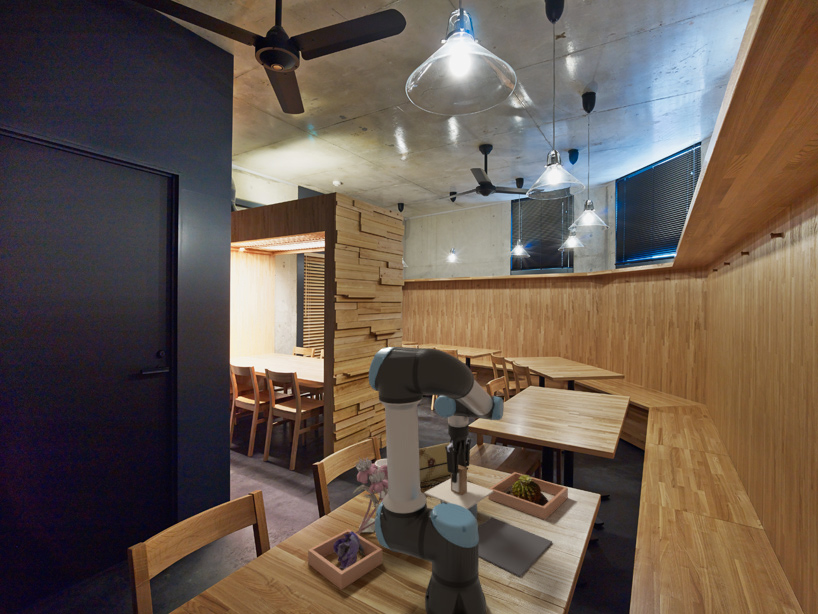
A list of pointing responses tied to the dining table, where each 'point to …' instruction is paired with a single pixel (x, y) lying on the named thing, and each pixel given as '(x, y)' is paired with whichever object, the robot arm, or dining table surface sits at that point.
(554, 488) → the cactus tray
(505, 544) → the rubber mat
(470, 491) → the board
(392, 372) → the robot arm
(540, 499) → the cactus
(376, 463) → the foam cup
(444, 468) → the clutch purse
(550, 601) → the dining table surface
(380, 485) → the flower
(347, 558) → the flower
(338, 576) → the flower tray
